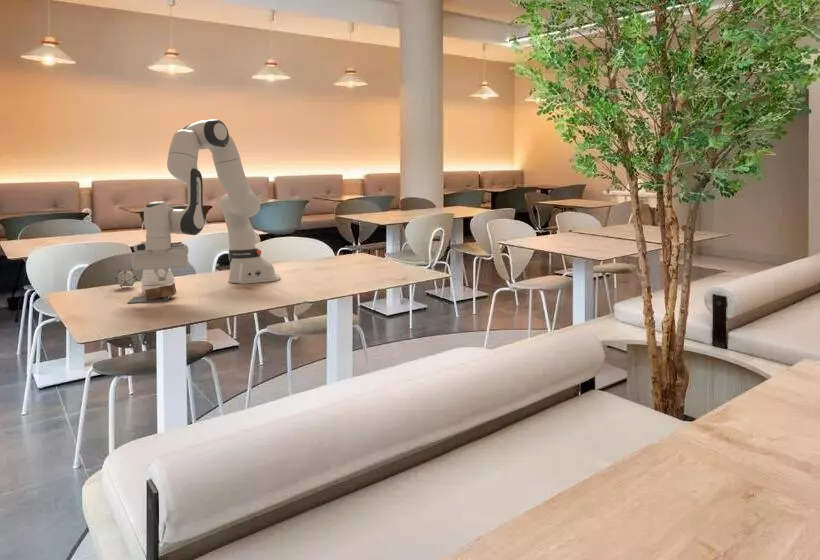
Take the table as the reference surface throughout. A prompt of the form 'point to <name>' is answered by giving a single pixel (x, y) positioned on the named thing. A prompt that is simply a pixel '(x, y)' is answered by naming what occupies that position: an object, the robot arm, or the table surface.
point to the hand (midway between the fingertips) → (162, 280)
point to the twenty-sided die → (126, 278)
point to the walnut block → (160, 291)
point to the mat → (144, 300)
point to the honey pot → (155, 278)
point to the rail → (166, 298)
